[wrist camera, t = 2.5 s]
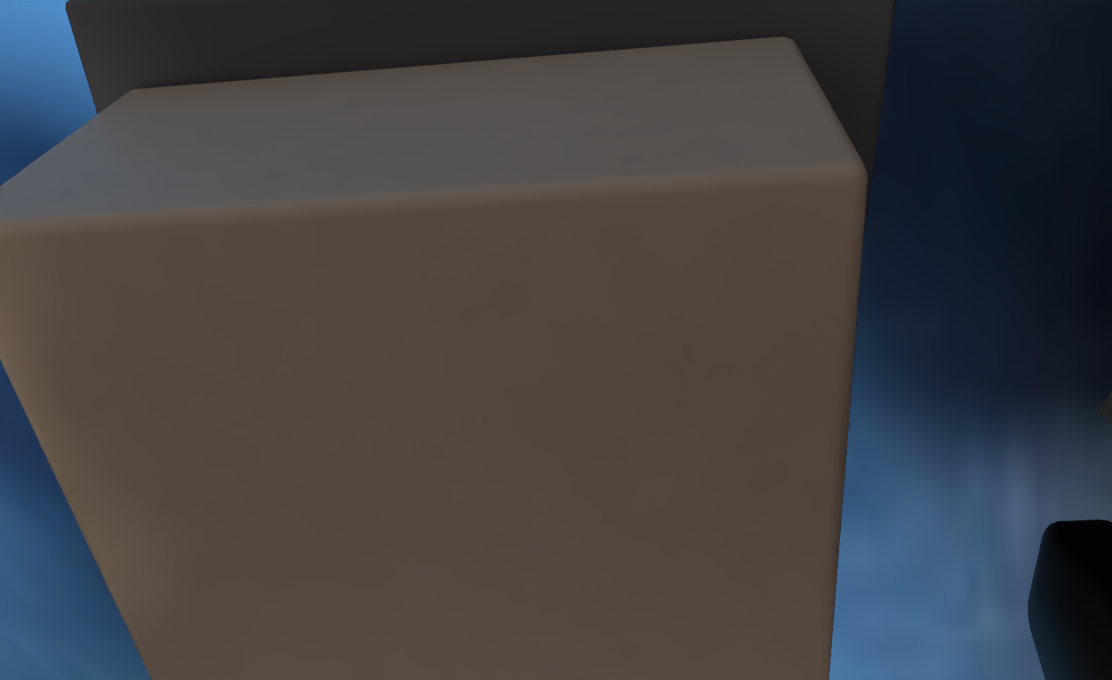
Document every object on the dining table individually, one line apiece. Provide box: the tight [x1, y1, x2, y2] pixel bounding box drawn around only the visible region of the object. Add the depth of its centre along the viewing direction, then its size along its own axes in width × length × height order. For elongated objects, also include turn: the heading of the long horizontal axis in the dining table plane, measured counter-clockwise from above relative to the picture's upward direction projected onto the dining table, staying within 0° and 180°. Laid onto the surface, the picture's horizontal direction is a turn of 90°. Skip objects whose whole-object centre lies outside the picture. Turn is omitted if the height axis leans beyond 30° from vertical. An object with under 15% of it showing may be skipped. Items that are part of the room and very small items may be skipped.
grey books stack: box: [66, 0, 896, 238], centre depth 11 cm, size 8×6×4 cm
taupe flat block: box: [0, 37, 868, 680], centre depth 8 cm, size 7×5×2 cm
